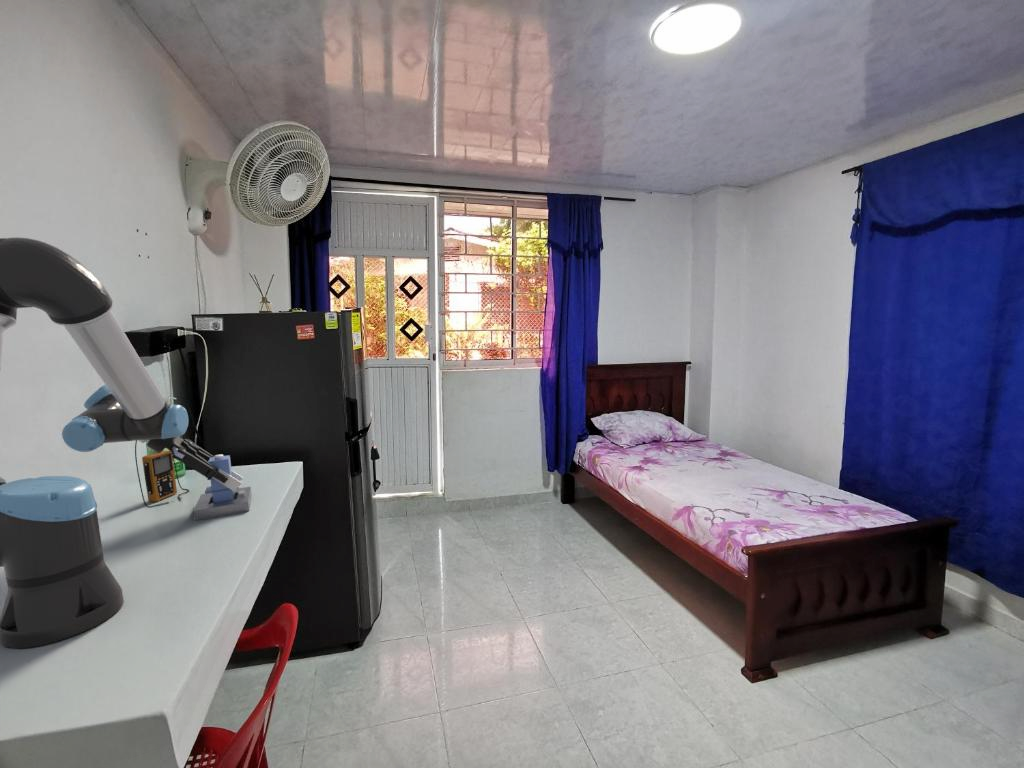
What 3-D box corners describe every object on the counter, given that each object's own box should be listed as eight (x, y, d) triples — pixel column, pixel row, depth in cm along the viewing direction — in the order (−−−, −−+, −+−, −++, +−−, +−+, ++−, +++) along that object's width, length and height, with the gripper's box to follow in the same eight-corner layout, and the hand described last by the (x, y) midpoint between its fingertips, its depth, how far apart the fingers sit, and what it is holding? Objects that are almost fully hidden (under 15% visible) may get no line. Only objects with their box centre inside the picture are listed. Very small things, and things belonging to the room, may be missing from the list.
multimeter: (168, 507, 133) (158, 435, 131) (136, 507, 135) (125, 435, 133) (209, 489, 148) (201, 423, 145) (179, 489, 149) (171, 424, 147)
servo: (239, 498, 131) (234, 455, 130) (206, 504, 128) (200, 459, 127) (240, 493, 135) (235, 451, 134) (208, 498, 132) (203, 455, 131)
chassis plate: (249, 510, 128) (247, 498, 128) (194, 520, 123) (193, 507, 123) (251, 495, 141) (250, 483, 140) (202, 503, 136) (200, 491, 135)
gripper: (153, 437, 131) (231, 486, 140) (136, 451, 115) (225, 506, 124) (174, 415, 133) (250, 465, 142) (160, 426, 117) (247, 481, 126)
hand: (238, 484), depth 133 cm, fingers closed on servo, 4 cm apart
